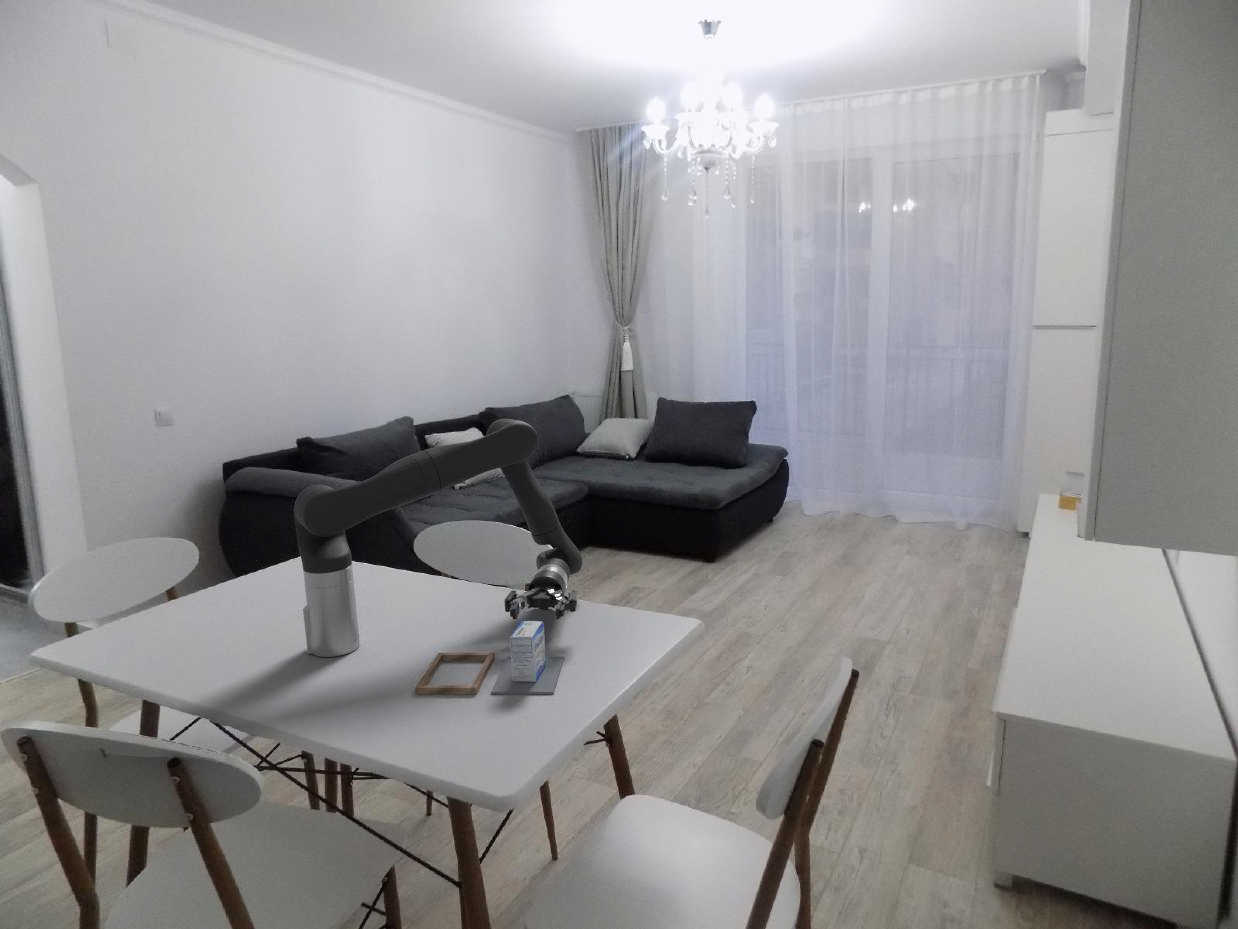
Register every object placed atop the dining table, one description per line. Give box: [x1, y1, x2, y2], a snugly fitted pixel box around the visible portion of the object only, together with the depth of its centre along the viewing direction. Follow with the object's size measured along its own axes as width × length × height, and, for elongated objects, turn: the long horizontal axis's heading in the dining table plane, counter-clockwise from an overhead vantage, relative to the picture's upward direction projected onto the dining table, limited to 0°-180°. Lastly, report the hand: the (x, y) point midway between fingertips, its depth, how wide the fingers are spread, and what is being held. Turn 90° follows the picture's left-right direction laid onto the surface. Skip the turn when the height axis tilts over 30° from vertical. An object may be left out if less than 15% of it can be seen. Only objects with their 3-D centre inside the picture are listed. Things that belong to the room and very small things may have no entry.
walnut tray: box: [414, 652, 496, 695], centre depth 152 cm, size 11×15×1 cm
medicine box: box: [509, 620, 547, 682], centre depth 151 cm, size 8×4×9 cm, turn 171°
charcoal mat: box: [490, 655, 565, 695], centre depth 152 cm, size 11×15×1 cm
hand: (535, 614), depth 160 cm, fingers open, 8 cm apart
